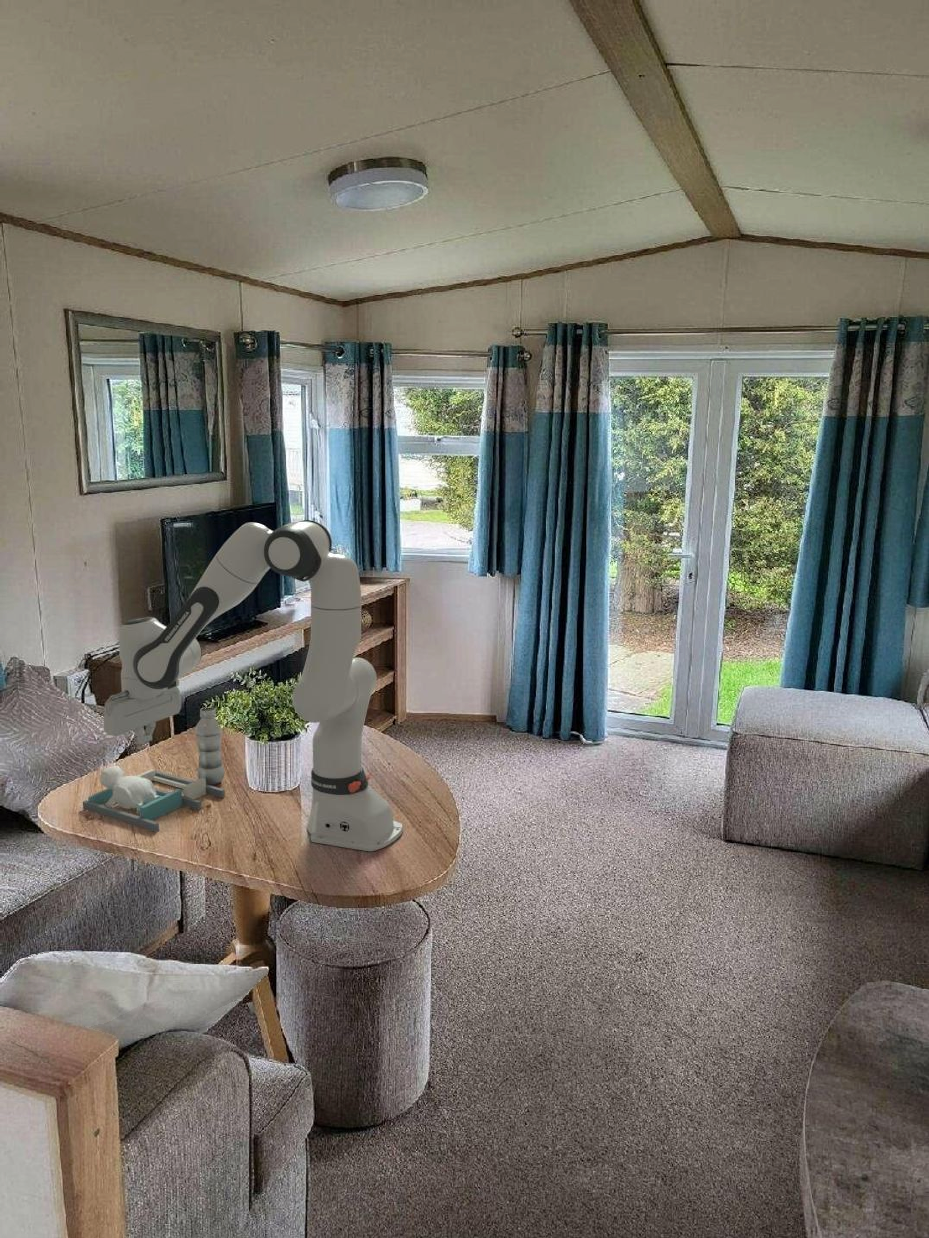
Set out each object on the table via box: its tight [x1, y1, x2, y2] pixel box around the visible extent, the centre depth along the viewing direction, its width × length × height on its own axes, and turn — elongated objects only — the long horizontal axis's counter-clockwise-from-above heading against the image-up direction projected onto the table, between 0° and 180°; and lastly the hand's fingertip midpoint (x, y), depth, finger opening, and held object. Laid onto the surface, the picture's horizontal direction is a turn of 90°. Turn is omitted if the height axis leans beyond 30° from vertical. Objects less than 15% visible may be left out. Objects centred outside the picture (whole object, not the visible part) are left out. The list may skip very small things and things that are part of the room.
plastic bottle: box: [194, 706, 225, 786], centre depth 223 cm, size 6×7×20 cm
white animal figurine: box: [99, 765, 158, 815], centre depth 211 cm, size 9×8×15 cm
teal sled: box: [87, 788, 183, 821], centre depth 210 cm, size 19×12×4 cm, turn 62°
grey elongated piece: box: [135, 768, 207, 800], centre depth 219 cm, size 19×6×4 cm, turn 62°
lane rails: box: [82, 770, 226, 833], centre depth 213 cm, size 24×22×2 cm
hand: (145, 742), depth 204 cm, fingers closed
